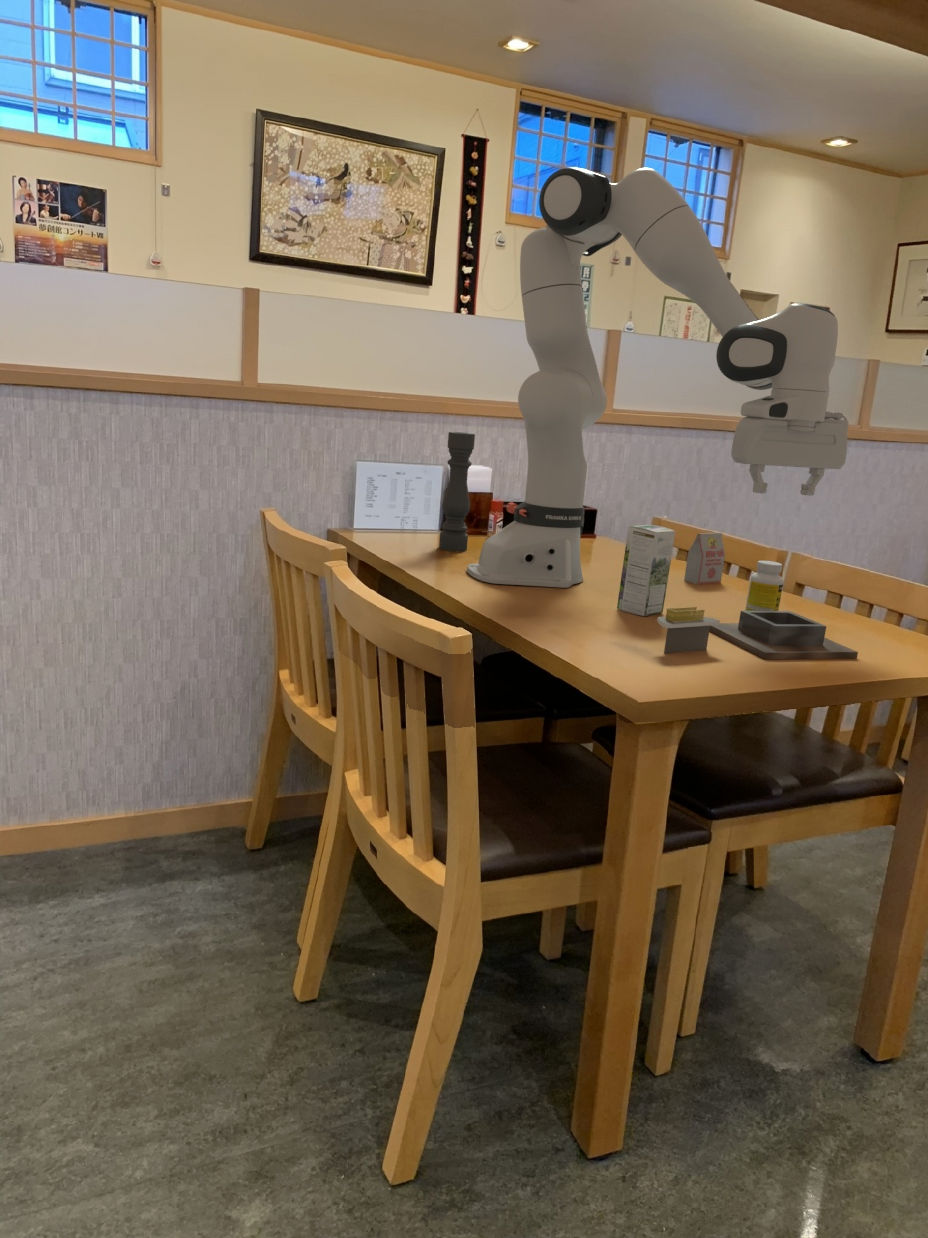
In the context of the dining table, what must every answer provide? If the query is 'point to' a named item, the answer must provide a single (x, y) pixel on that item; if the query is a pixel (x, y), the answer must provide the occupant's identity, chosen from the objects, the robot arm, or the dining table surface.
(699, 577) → the tea bag
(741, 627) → the socket holder
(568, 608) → the dining table surface
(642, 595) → the syrup box
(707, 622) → the platform
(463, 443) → the dark gray baluster
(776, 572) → the supplement bottle
